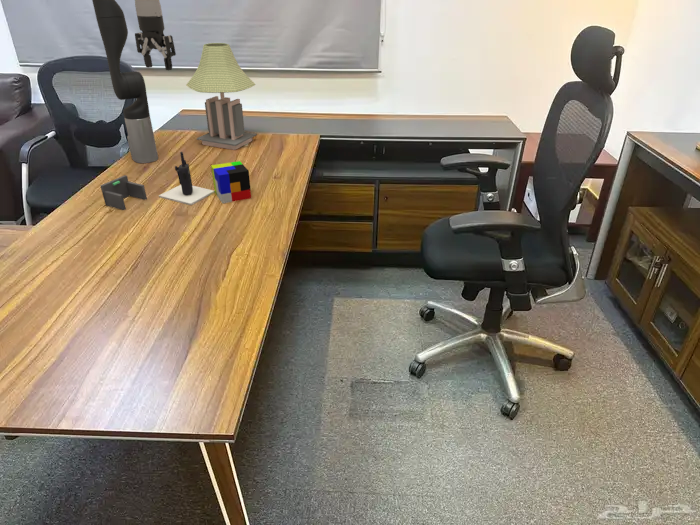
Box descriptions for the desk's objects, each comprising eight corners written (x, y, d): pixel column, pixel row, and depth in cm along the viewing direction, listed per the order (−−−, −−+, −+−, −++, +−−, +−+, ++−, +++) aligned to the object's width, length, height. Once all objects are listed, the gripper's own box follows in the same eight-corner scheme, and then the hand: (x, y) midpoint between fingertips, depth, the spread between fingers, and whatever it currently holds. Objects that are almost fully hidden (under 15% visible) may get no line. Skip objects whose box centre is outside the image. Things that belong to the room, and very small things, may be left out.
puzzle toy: (222, 203, 163) (218, 175, 158) (214, 192, 171) (211, 165, 165) (251, 198, 167) (248, 170, 162) (242, 187, 175) (239, 161, 169)
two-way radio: (192, 195, 166) (185, 153, 158) (178, 196, 166) (170, 153, 158) (193, 189, 171) (187, 147, 163) (180, 190, 170) (173, 148, 162)
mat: (159, 197, 166) (158, 195, 166) (183, 184, 176) (183, 183, 175) (191, 205, 161) (190, 203, 161) (214, 192, 171) (214, 190, 170)
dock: (105, 205, 160) (100, 185, 157) (129, 194, 168) (124, 175, 164) (123, 210, 157) (118, 190, 154) (146, 198, 165) (142, 179, 161)
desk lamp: (183, 147, 210) (166, 46, 189) (221, 130, 232) (210, 38, 211) (234, 156, 202) (222, 52, 181) (269, 137, 224) (262, 42, 203)
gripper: (123, 13, 153) (134, 68, 162) (157, 16, 148) (167, 72, 157) (141, 11, 159) (151, 64, 168) (175, 14, 154) (183, 68, 162)
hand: (159, 68), depth 162 cm, fingers open, 8 cm apart
